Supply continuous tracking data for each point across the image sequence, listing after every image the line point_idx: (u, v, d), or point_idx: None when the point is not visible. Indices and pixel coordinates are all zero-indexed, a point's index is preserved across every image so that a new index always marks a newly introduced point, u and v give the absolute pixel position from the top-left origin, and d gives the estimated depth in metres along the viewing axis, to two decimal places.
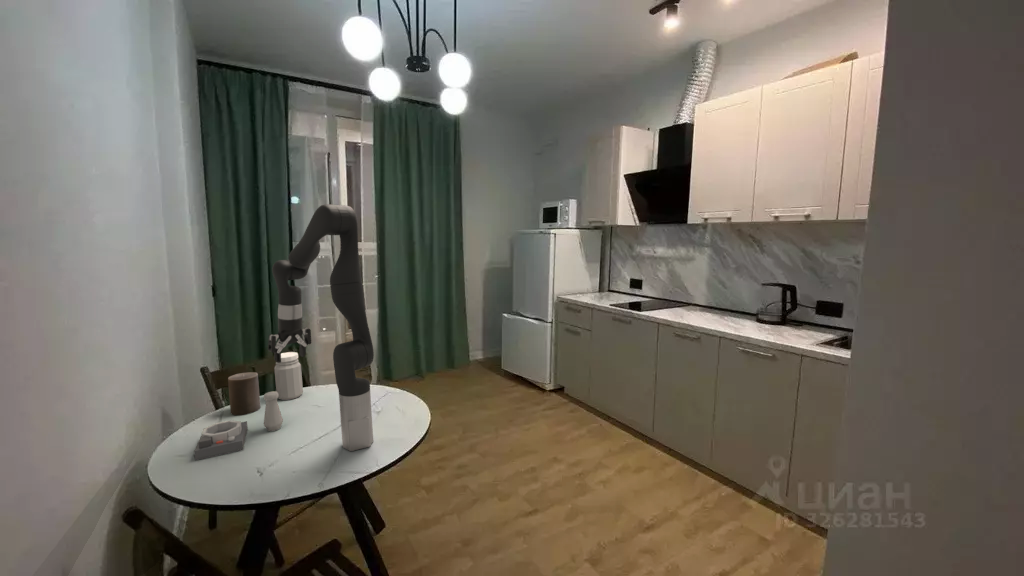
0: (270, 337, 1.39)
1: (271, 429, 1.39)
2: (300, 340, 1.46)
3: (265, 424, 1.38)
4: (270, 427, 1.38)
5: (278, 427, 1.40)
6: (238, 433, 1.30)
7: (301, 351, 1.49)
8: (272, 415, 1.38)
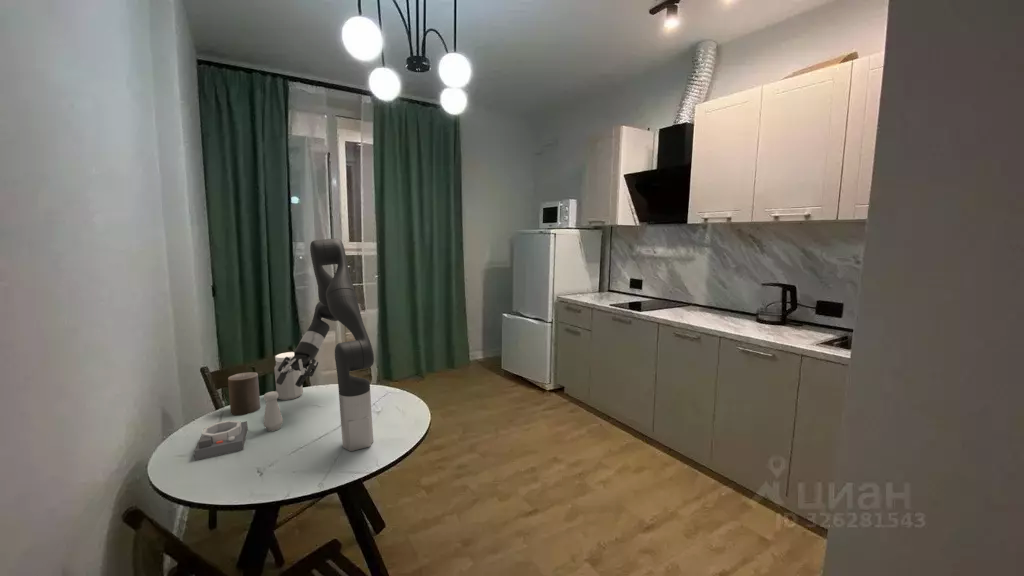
0: None
1: (271, 429, 1.39)
2: (300, 366, 1.48)
3: (265, 424, 1.38)
4: (270, 427, 1.38)
5: (278, 427, 1.40)
6: (238, 433, 1.30)
7: None
8: (272, 415, 1.38)
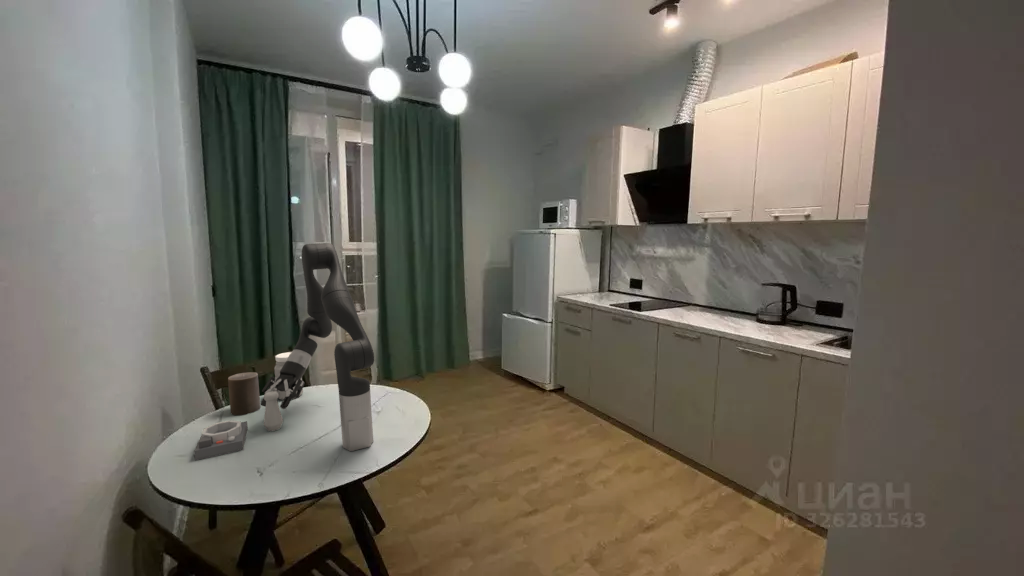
0: None
1: (271, 429, 1.39)
2: (286, 387, 1.42)
3: (265, 424, 1.38)
4: (270, 427, 1.38)
5: (278, 427, 1.40)
6: (238, 433, 1.30)
7: None
8: (272, 415, 1.38)
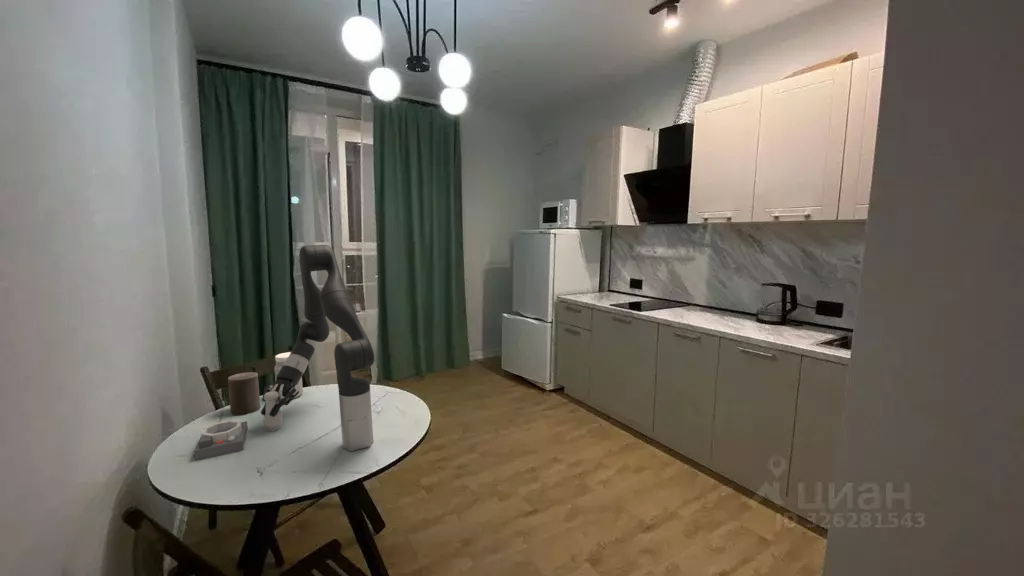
0: None
1: (271, 429, 1.39)
2: (279, 392, 1.41)
3: (265, 424, 1.38)
4: (270, 427, 1.38)
5: (278, 427, 1.40)
6: (238, 433, 1.30)
7: None
8: None
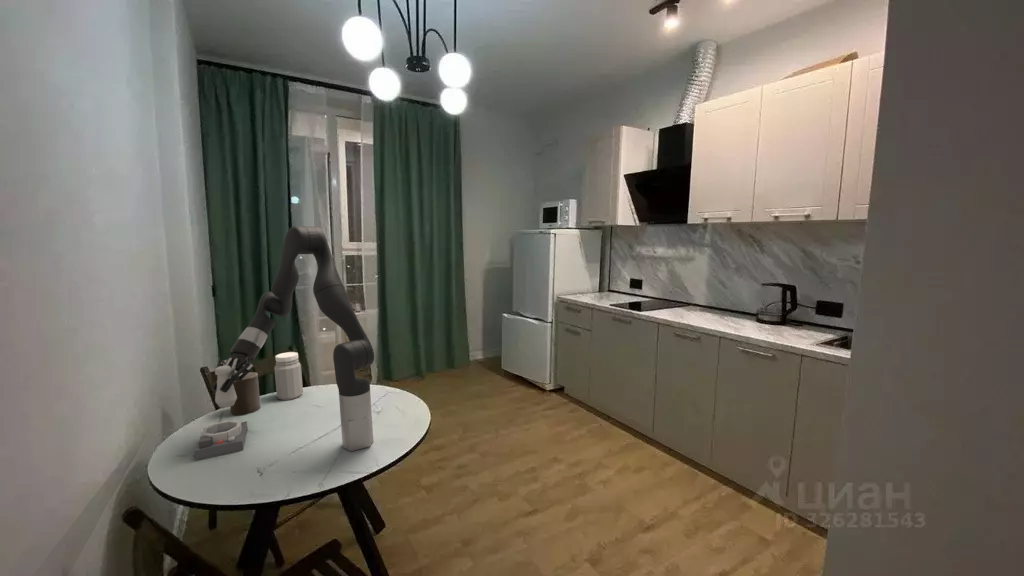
0: None
1: (223, 406, 1.29)
2: (232, 367, 1.31)
3: (216, 400, 1.28)
4: (222, 403, 1.28)
5: (231, 404, 1.30)
6: (238, 433, 1.30)
7: None
8: None
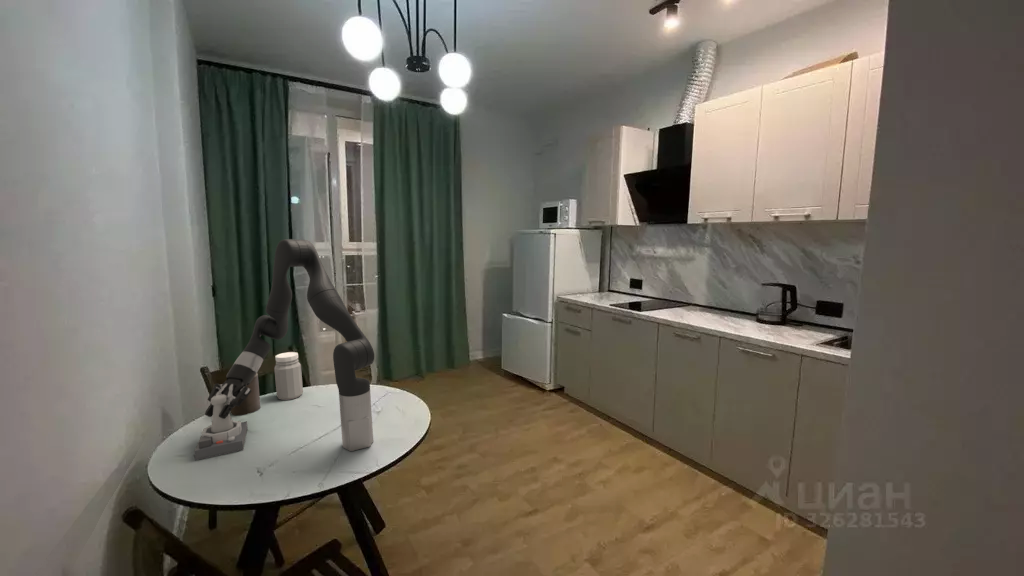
0: None
1: None
2: (229, 393, 1.30)
3: (212, 430, 1.28)
4: None
5: None
6: (238, 433, 1.30)
7: None
8: (219, 420, 1.28)
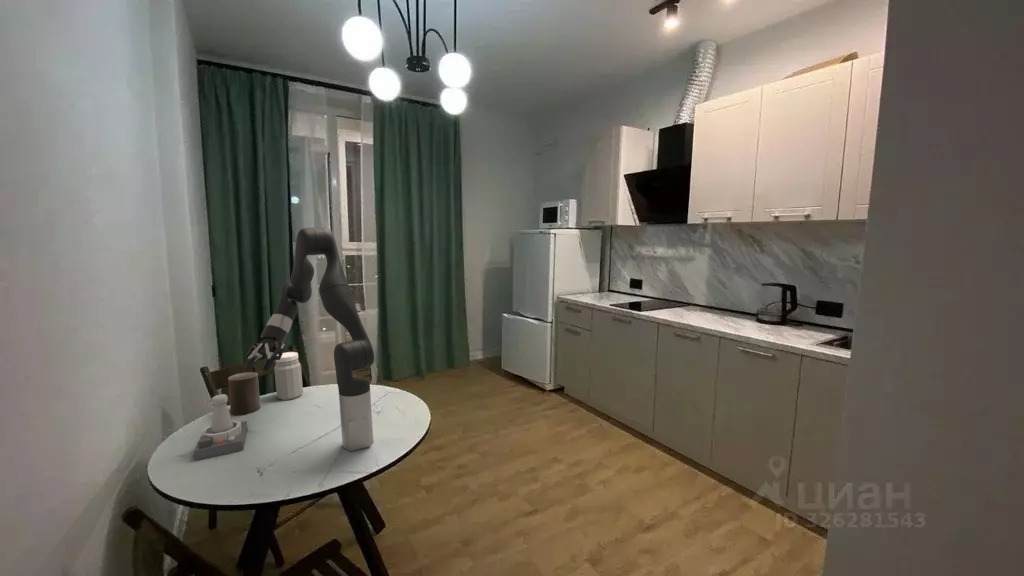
0: None
1: None
2: (267, 350, 1.41)
3: (212, 430, 1.28)
4: None
5: None
6: (238, 433, 1.30)
7: None
8: (220, 420, 1.28)
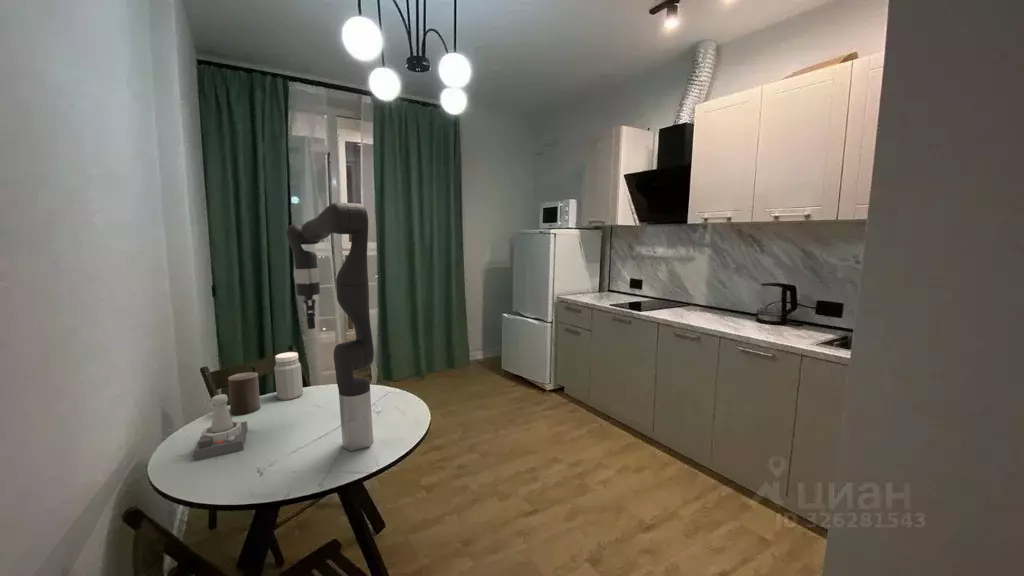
0: None
1: None
2: (304, 308, 1.41)
3: (212, 430, 1.28)
4: None
5: None
6: (238, 433, 1.30)
7: None
8: (220, 420, 1.28)
